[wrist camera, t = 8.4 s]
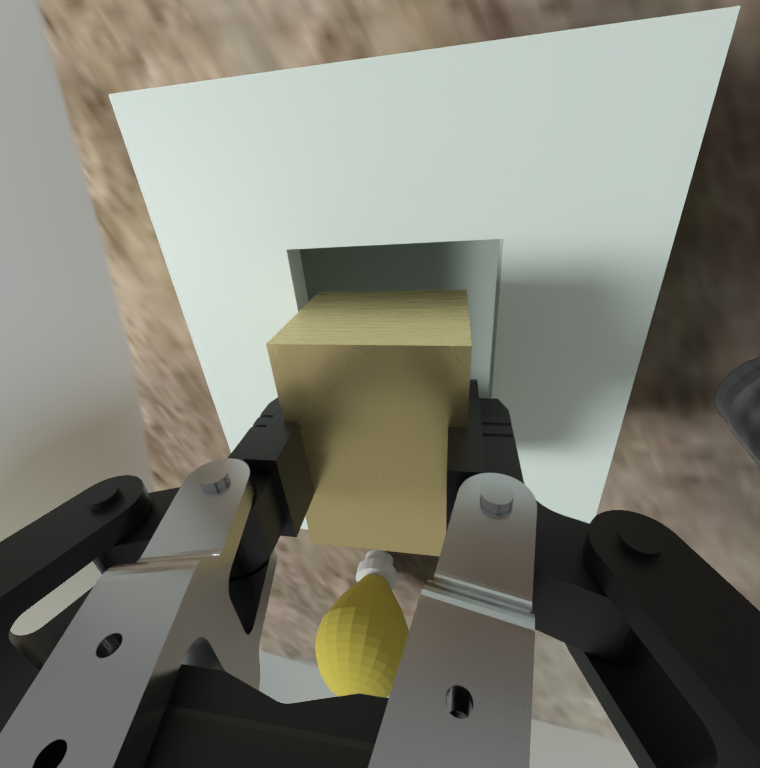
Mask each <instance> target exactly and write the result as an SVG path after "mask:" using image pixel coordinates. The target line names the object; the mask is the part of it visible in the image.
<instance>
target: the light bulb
mask: <svg viewBox="0 0 760 768" xmlns="http://www.w3.org/2000/svg"><path fill="white" fill-rule="evenodd" d="M396 576H397V572H396V570H395V568H394V567H393V557H392V556H391V555H390V554H389V553H388V552H386V551H383V550H371V551H369V552H368V553H367V554H366V558H365V560H363V561H362V562H360V564H359V566H358V569H357V574H356V581H357V583H356V584H355V585H353V586H352V587H351V588H350V589H349V590H347V591H346V592H345V593H344V594H343V595H341V597H340V598H339V599H338V600H337V601H336V602H335V604H334V605H333V606H332V607H331V608H330V609H329V610H328V612H327V613H326V614H325V615H324V616H323V618H322V621H321V623H320V626H319V629H318V631H317V636H316V645H315V649H316V658H317V663H318V667H319V671H320V673H321V676H322V678H323V680H324V681H325V683H326V684H327V686H328V687H329V688H330V690H331V691H333V693H334V694H335V695H337V696H345V695H352V694H358V693H360V694H366V695H372V696H378V697H384V698H386V697H387V696H389V695H390V694H391V690H392V687H393V684H394V680H395V677H396V674H397V670H398V667H399V664H400V661H401V657H402V654H403V651H404V647H405V644H406V641H407V637H408V634H409V630H408V627H407V624H406V621H405V618H404V615H403V612H402V609H401V607H400V606H399V604H398V602H397V600H396V598H395V596H394V594H393V592H392V590H393V589H394V587H395V583H396Z"/></svg>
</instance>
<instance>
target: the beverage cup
mask: <svg viewBox="0 0 760 768" xmlns="http://www.w3.org/2000/svg"><path fill="white" fill-rule="evenodd" d="M715 406H716V409H717V411H718V413H719V415H720V416H721V417H722V418H723V419H724V420H725V422H726V423H727V425H728V426H729V427H730V429H731V432H732V434H733V435H734V436H735V437H736V439H737V440H738V441H739V442H740V444H741V445H742V446H743V447H744V449H745V450H746V451H747V452H748V454H749V455H750V456H751V457H752V459H753V460H754V461H755V462H756V464H757V465H758V466H759V467H760V357H758V358H756V359H753V360H751V361H748V362H746V363H744V364H743V365H741V366H740V367H738V368H737V369H735V370H733V371H732V372H731V373H730V374H729V375H728V376H727V377H726V378H725V379H724V380H723V381H722V382H721V384H720V386H719V388H718V390H717V392H716V394H715Z"/></svg>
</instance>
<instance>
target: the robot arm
mask: <svg viewBox="0 0 760 768" xmlns="http://www.w3.org/2000/svg"><path fill="white" fill-rule="evenodd" d="M511 424H512V423H511V419H510V414H509V410H508V409H507V408H506V407H505V406H504V405H503V404H502V402H501V401H500V400H499V399H496V398H479V393H478V383H477V379H470V387H469V404H468V421H467V428H461V427H448V447H447V503H446V536H445V539H444V543H443V546H442V550H441V553H440V557H439V560H438V564H437V567H436V571H435V574H434V577H433V579H432V580H427V581H426V583H425V585H424V587H423V589H422V592H421V595H420V598H419V601H418V604H417V608H416V611H415V614H414V618H413V621H412V624H411V628H410V631H409V634H408V637H407V641H406V644H405V647H404V651H403V654H402V657H401V661H400V664H399V667H398V670H397V674H396V677H395V680H394V684H393V687H392V690H391V694H390V697H389V698H384V697H378V696H372V695H366V694H360V693H358V694H352V695H345V696H338V697H332V698H325V699H319V700H312V701H305V702H299V703H292V704H284V703H280V702H277V701H275V700H274V699H272V698H270V697H269V696H267V695H265V694H263V693H262V692H260V691H259V683H260V663H259V643H260V637H261V633H262V628H263V623H264V619H265V614H266V609H267V605H268V600H269V596H270V591H271V586H272V582H273V577H274V572H275V568H276V563H277V553H276V550H275V546H276V543H277V541H278V539H279V537H280V535H281V536H292V537H297V535H298V533H299V530H300V528H301V525H302V523H303V521H304V518H305V516H306V513H307V511H308V508H309V506H310V504H311V501H312V499H313V496H314V494H315V493H314V489H313V484H312V480H311V475H310V471H309V466H308V462H307V457H306V453H305V448H304V444H303V439H302V435H301V430H300V426H299V422H289V421H284V420H283V416H282V412H281V407H280V403H279V399H278V397H277V398H276V399H275V400H273V401H272V402H270V403H269V404H268V405H267V406H266V408H265V409H264V410H263V412H262V413H261V414H260V417H258V418H257V420H256V421H255V422H254V424H253V427H251V428H250V429H249V430H248V432H247V433H246V434H245V436H244V437H243V438H242V440H241V441H240V442H239V444H238V445H237V446H236V448H235V449H234V450H233V452H232V453H231V454H230V456H229V457H228V458H226V459H219V460H215V461H212V462H209V463H207V464H205V465H203V466H201V467H199V468H198V469H196V470H195V471H193V472H192V473H191V474H190V475H189V476H188V477H187V478H186V479H185V480H184V482H183V483H182V485H181V487H179V488H174V489H168V490H163V491H157V492H152V493H148V492H147V490H146V488H145V486H144V484H143V482H142V480H141V479H139V478H138V477H135V476H129V475H125V476H117V477H113V478H110V479H107V480H104V481H101V482H99V483H97V484H95V485H93V486H91V487H90V488H88V489H87V490H85V491H83V492H81V493H80V494H78V495H76V496H75V497H73V498H72V499H70V500H68V501H67V502H65V503H63V504H62V505H60V506H59V507H57V508H55V509H54V510H52V511H50V512H49V513H47V514H45V515H44V516H42V517H41V518H39V519H37V520H36V521H34V522H32V523H31V524H29V525H27V526H26V527H24V528H23V529H21V530H19V531H18V532H16V533H15V534H13V535H11V536H9V537H8V538H6V539H5V540H3V541H1V542H0V768H529V757H530V735H531V712H532V689H533V665H534V642H535V629H536V630H538V631H540V632H543V633H545V634H547V635H549V636H551V637H554V638H556V639H558V640H560V641H562V642H565V644H566V646H567V648H568V650H569V652H570V653H571V655H572V657H573V658H574V660H575V662H576V663H577V665H578V667H579V668H580V670H581V672H582V673H583V675H584V677H585V678H586V680H587V682H588V683H589V685H590V687H591V688H592V690H593V692H594V693H595V695H596V697H597V698H598V700H599V702H600V703H601V705H602V707H603V708H604V710H605V712H606V713H607V715H608V717H609V719H610V720H611V722H612V724H613V725H614V727H615V729H616V730H617V732H618V734H619V735H620V737H621V739H622V740H623V742H624V744H625V745H626V747H627V749H628V750H629V752H630V754H631V755H632V757H633V759H634V760H635V762H636V764H637V765H638V767H639V768H760V611H759V610H758V609H757V608H756V607H755V606H753V605H752V604H751V603H750V602H749V601H748V600H747V599H746V598H745V597H744V596H743V595H742V594H740V593H739V592H738V591H737V590H736V589H735V588H734V587H733V586H732V585H731V584H730V583H728V582H727V581H726V580H725V579H724V578H723V577H722V576H721V575H720V574H719V573H718V572H717V571H715V570H714V569H713V568H712V567H711V566H710V565H709V564H708V563H707V562H706V561H705V560H703V559H702V558H701V557H700V556H699V555H698V554H697V553H696V552H695V551H694V550H693V549H692V548H690V547H689V546H688V545H687V544H686V543H685V542H684V541H683V540H682V539H681V538H680V537H678V536H677V535H676V534H675V533H674V532H673V531H671V530H670V529H669V528H667V527H666V526H665V525H663V524H662V523H660V522H658V521H656V520H654V519H652V518H650V517H647V516H645V515H642V514H639V513H635V512H631V511H624V510H611V511H606V512H603V513H600V514H599V515H597V516H595V517H594V518H593V519H592V521H591V523H586V522H583V521H580V520H577V519H574V518H571V517H567V516H564V515H562V514H559V513H556V512H554V511H552V510H550V509H548V508H547V507H545V506H543V505H542V504H541V503H539V502H538V501H537V500H536V499H535V497H534V495H533V493H532V492H531V490H530V489H529V488H528V487H527V486H526V485H525V484H524V480H523V476H522V471H521V466H520V461H519V457H518V452H517V447H516V442H515V438H514V433H513V428H512V426H511ZM92 561H93V562H94V563H95V565H96V566H97V568H98V569H99V571H100V572H101V574H102V576H101V577H100V578H99V580H98V581H97V582H96V584H95V585H94V587H92V588H91V589H90V590H88V591H87V592H86V593H85V594H83V595H82V596H81V597H80V598H78V599H77V600H76V601H75V602H74V603H72V604H71V605H70V606H68V607H67V608H66V609H65V610H63V611H62V612H61V613H59V614H58V615H57V616H56V617H55V618H53V619H52V620H51V621H49V622H48V623H47V624H46V625H44V626H43V627H42V628H40V629H39V630H37V631H35V632H33V633H31V634H28V635H23V636H18V635H14V634H13V633H11V631H10V629H11V627H12V625H13V623H14V622H15V621H16V619H17V618H18V617H19V616H20V615H21V614H22V613H23V612H25V611H26V610H27V609H29V608H30V607H31V606H33V605H34V604H35V603H37V602H38V601H39V600H40V599H42V598H43V597H45V596H46V595H47V594H49V593H50V592H51V591H53V590H54V589H55V588H57V587H58V586H59V585H61V584H62V583H63V582H65V581H66V580H67V579H69V578H70V577H71V576H73V575H74V574H76V573H77V572H78V571H80V570H81V569H82V568H84V567H85V566H86V565H88V564H89V563H90V562H92Z"/></svg>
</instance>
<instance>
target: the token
mask: <svg viewBox="0 0 760 768" xmlns="http://www.w3.org/2000/svg"><path fill="white" fill-rule="evenodd" d="M266 346H267V351H268V355H269V359H270V364H271V368H272V372H273V377H274V381H275V386H276V390H277V394H278V399H279V403H280V407H281V412H282V416H283V420H284V421H289V422H299V426H300V430H301V435H302V439H303V444H304V448H305V453H306V457H307V462H308V466H309V471H310V475H311V480H312V484H313V489H314V493H315V494H314V496H313V499H312V501H311V504H310V506H309V508H308V511H307V513H306V521H307V525H308V530H309V534H310V538H311V543H315V544H325V545H334V546H344V547H354V548H363V549H373V550H383V551H392V552H402V553H412V554H421V555H431V556H440V553H441V550H442V546H443V543H444V539H445V536H446V503H447V447H448V427H461V428H467V421H468V404H469V387H470V370H471V354H472V341H471V330H470V320H469V309H468V298H467V290H407V291H339V292H318V293H317V294H316V295H315V296H314V297H313V298H312V299H311V300H310V301H309V302H308V303H307V304H306V305H305V306H304V307H303V308H302V309H301V310H300V311H299V312H298V313H297V314H296V315H295V316H294V317H293V318H292V319H291V320H290V321H289V322H288V323H287V324H286V325H285V326H284V327H283V328H282V329H281V330H280V331H279V332H278V333H277V334H276V335H275V336H274V337H273V338H272V339H271V340H270V341H269V342H268V343H267V344H266Z"/></svg>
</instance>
